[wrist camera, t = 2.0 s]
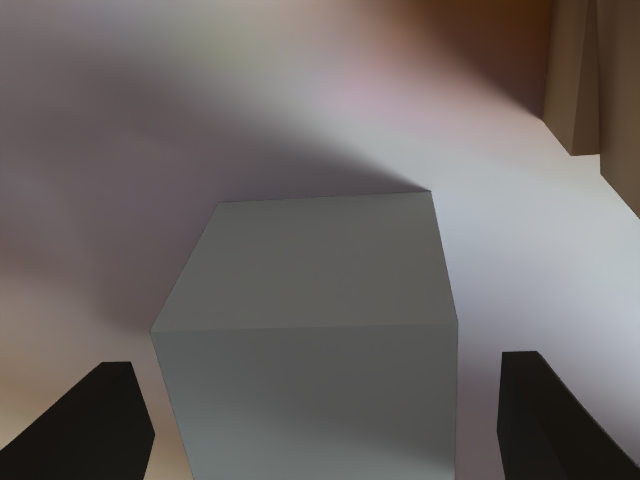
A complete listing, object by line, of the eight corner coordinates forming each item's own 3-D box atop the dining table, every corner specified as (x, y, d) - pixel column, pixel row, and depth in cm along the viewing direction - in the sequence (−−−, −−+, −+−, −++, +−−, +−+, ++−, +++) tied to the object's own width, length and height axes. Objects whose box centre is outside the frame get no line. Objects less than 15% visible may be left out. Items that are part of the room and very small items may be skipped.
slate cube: (431, 357, 16) (453, 526, 11) (251, 361, 16) (207, 523, 12) (430, 189, 13) (458, 323, 9) (219, 200, 14) (149, 331, 10)
